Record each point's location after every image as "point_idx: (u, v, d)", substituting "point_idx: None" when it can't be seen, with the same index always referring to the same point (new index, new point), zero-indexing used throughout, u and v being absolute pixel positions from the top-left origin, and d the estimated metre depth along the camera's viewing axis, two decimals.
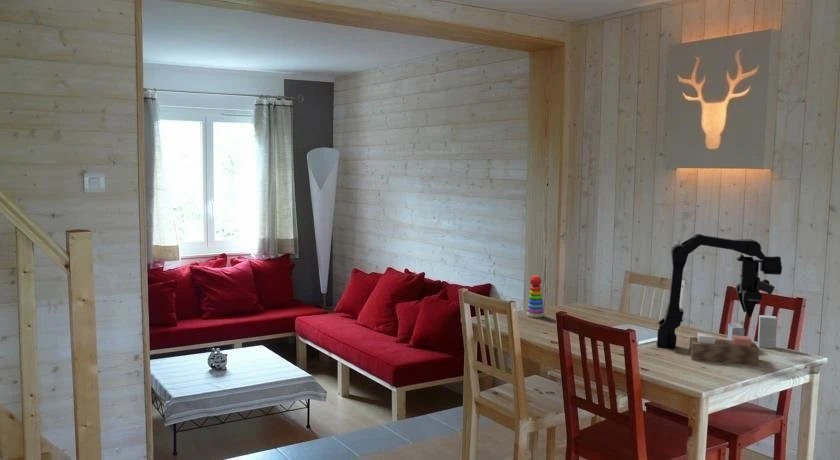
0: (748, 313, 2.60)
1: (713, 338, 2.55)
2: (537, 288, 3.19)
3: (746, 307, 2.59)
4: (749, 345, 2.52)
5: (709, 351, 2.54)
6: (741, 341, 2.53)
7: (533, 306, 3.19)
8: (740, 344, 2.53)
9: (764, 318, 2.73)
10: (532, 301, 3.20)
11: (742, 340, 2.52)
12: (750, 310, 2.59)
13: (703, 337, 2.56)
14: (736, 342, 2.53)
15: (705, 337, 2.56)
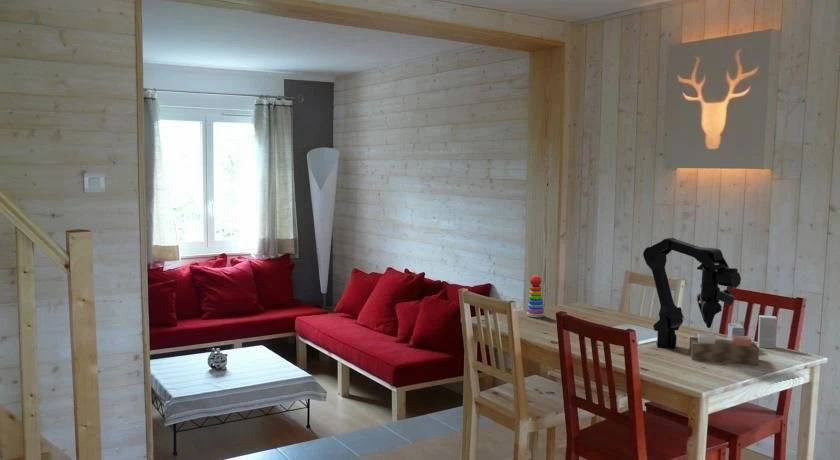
0: (707, 324, 2.54)
1: (713, 338, 2.55)
2: (537, 288, 3.19)
3: (705, 318, 2.53)
4: (749, 345, 2.52)
5: (709, 351, 2.54)
6: (741, 341, 2.53)
7: (533, 306, 3.19)
8: (740, 344, 2.53)
9: (764, 318, 2.73)
10: (532, 301, 3.20)
11: (742, 340, 2.52)
12: (709, 321, 2.53)
13: (703, 337, 2.56)
14: (736, 342, 2.53)
15: (705, 337, 2.56)
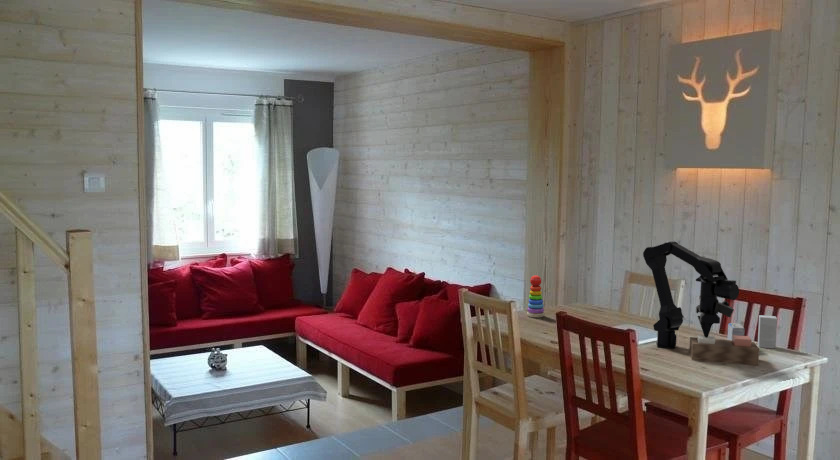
0: (705, 333, 2.58)
1: (713, 340, 2.55)
2: (537, 288, 3.19)
3: (703, 327, 2.57)
4: (749, 345, 2.52)
5: (709, 351, 2.54)
6: (741, 341, 2.53)
7: (533, 306, 3.19)
8: (740, 344, 2.53)
9: (764, 318, 2.73)
10: (532, 301, 3.20)
11: (742, 340, 2.52)
12: (707, 330, 2.57)
13: (703, 339, 2.56)
14: (736, 342, 2.53)
15: (705, 339, 2.56)
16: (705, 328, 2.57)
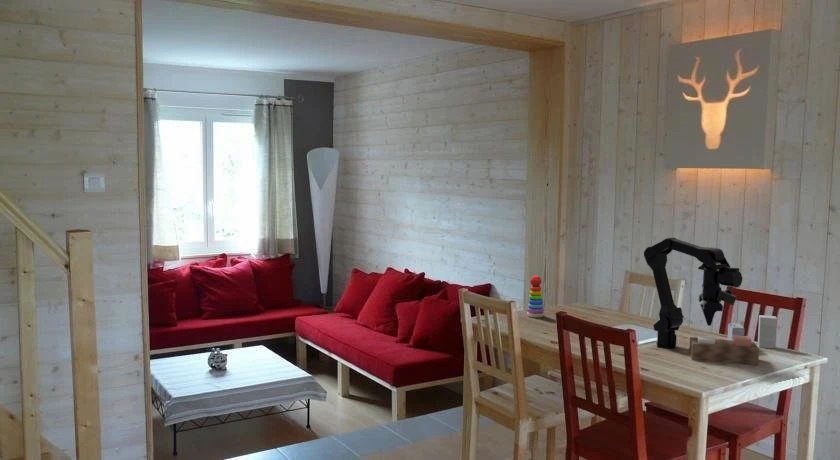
0: (708, 321, 2.57)
1: (713, 341, 2.55)
2: (537, 288, 3.19)
3: (705, 315, 2.56)
4: (749, 345, 2.52)
5: (709, 351, 2.54)
6: (741, 341, 2.53)
7: (533, 306, 3.19)
8: (740, 344, 2.53)
9: (764, 318, 2.73)
10: (532, 301, 3.20)
11: (742, 340, 2.52)
12: (710, 318, 2.56)
13: (703, 340, 2.56)
14: (736, 342, 2.53)
15: (705, 340, 2.56)
16: (708, 316, 2.56)
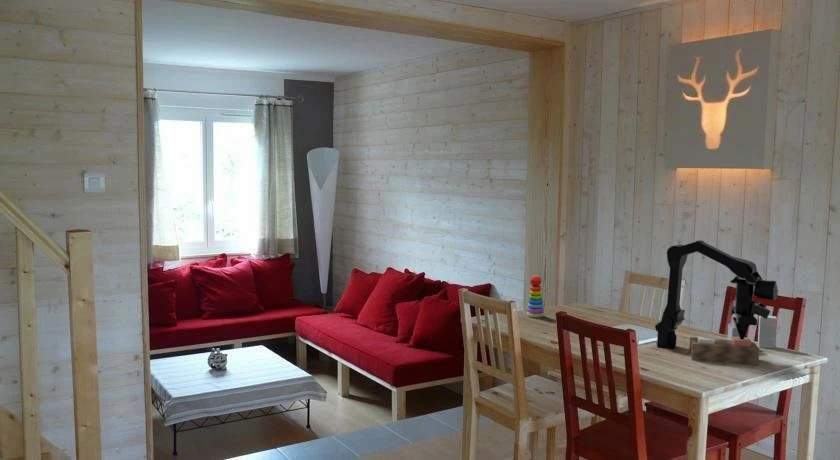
0: (740, 335, 2.54)
1: (713, 341, 2.55)
2: (537, 288, 3.19)
3: (738, 329, 2.54)
4: (749, 346, 2.52)
5: (709, 351, 2.54)
6: (741, 342, 2.53)
7: (533, 306, 3.19)
8: (740, 345, 2.53)
9: (764, 318, 2.73)
10: (532, 301, 3.20)
11: (742, 341, 2.53)
12: (742, 332, 2.54)
13: (703, 340, 2.56)
14: (736, 343, 2.53)
15: (705, 340, 2.56)
16: (741, 330, 2.54)
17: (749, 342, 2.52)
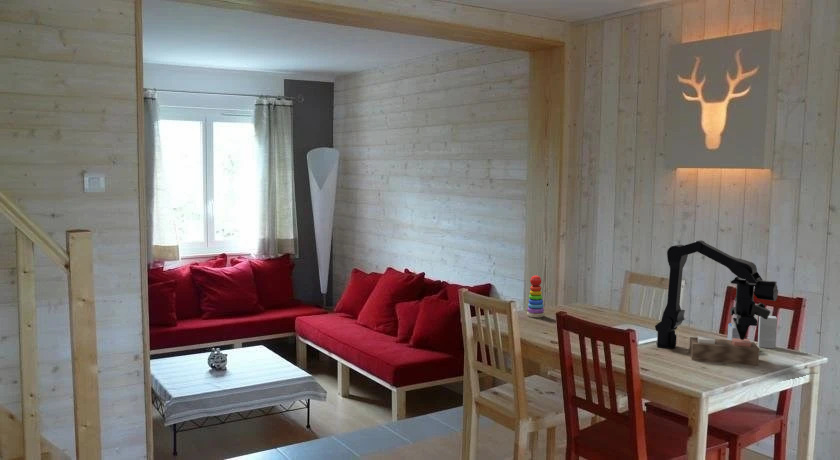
0: (741, 336, 2.54)
1: (713, 341, 2.55)
2: (537, 288, 3.19)
3: (739, 330, 2.54)
4: None
5: (709, 351, 2.54)
6: (741, 344, 2.53)
7: (533, 306, 3.19)
8: None
9: None
10: (532, 301, 3.20)
11: (742, 343, 2.53)
12: (743, 333, 2.54)
13: (703, 340, 2.56)
14: (736, 345, 2.53)
15: (705, 340, 2.56)
16: (741, 330, 2.54)
17: (749, 344, 2.52)
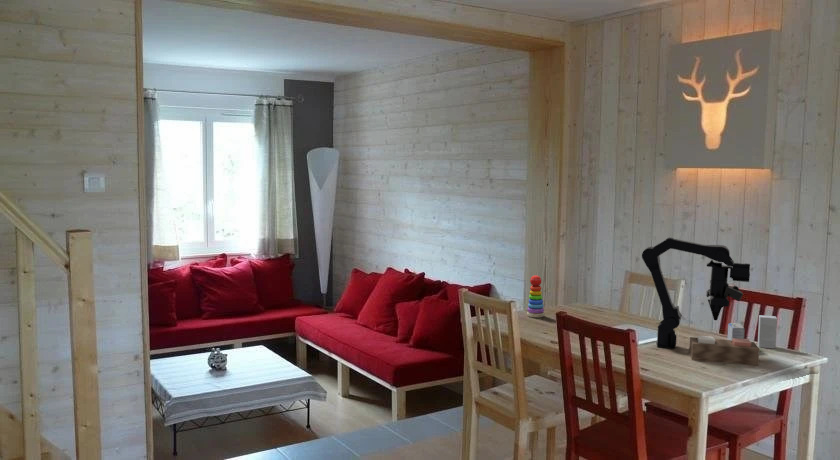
0: (714, 316, 2.65)
1: (713, 341, 2.55)
2: (537, 288, 3.19)
3: (712, 310, 2.64)
4: None
5: (709, 351, 2.54)
6: (741, 344, 2.53)
7: (533, 306, 3.19)
8: None
9: (764, 318, 2.73)
10: (532, 301, 3.20)
11: (742, 343, 2.53)
12: (716, 313, 2.64)
13: (703, 340, 2.56)
14: (736, 345, 2.53)
15: (705, 340, 2.56)
16: (715, 311, 2.64)
17: (749, 344, 2.52)
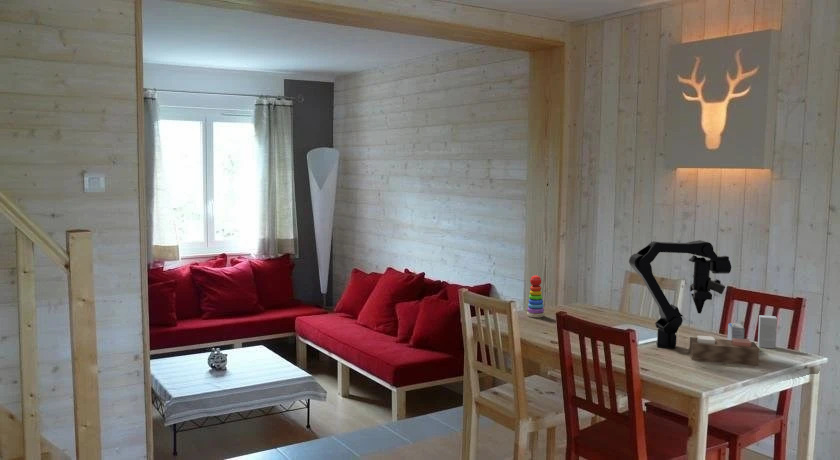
0: (698, 310, 2.73)
1: (713, 341, 2.55)
2: (537, 288, 3.19)
3: (696, 304, 2.72)
4: None
5: (709, 351, 2.54)
6: (741, 344, 2.53)
7: (533, 306, 3.19)
8: None
9: (764, 318, 2.73)
10: (532, 301, 3.20)
11: (742, 343, 2.53)
12: (700, 307, 2.72)
13: (703, 340, 2.56)
14: (736, 345, 2.53)
15: (705, 340, 2.56)
16: (698, 305, 2.72)
17: (749, 344, 2.52)
